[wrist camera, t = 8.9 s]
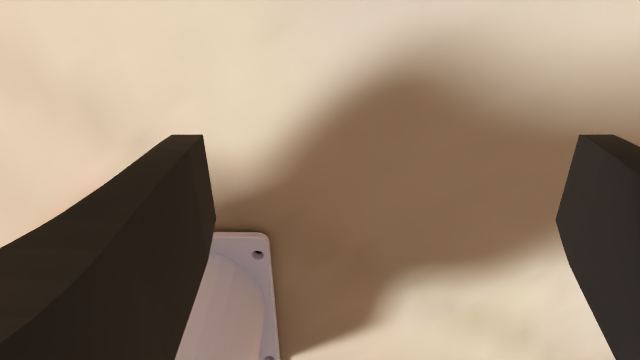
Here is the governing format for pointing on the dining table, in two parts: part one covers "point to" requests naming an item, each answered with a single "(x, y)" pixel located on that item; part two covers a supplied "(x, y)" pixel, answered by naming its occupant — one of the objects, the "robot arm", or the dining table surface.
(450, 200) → the dining table surface
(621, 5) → the dining table surface
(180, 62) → the dining table surface
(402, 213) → the dining table surface
